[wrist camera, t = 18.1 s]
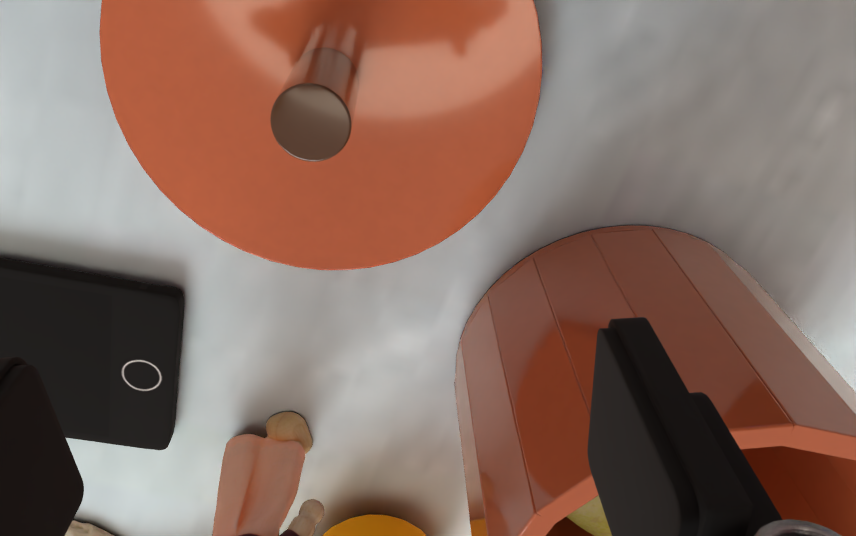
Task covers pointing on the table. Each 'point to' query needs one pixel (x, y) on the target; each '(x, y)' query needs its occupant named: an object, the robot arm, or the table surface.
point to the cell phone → (97, 349)
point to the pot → (687, 349)
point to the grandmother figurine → (265, 482)
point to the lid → (325, 116)
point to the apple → (374, 527)
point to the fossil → (85, 530)
